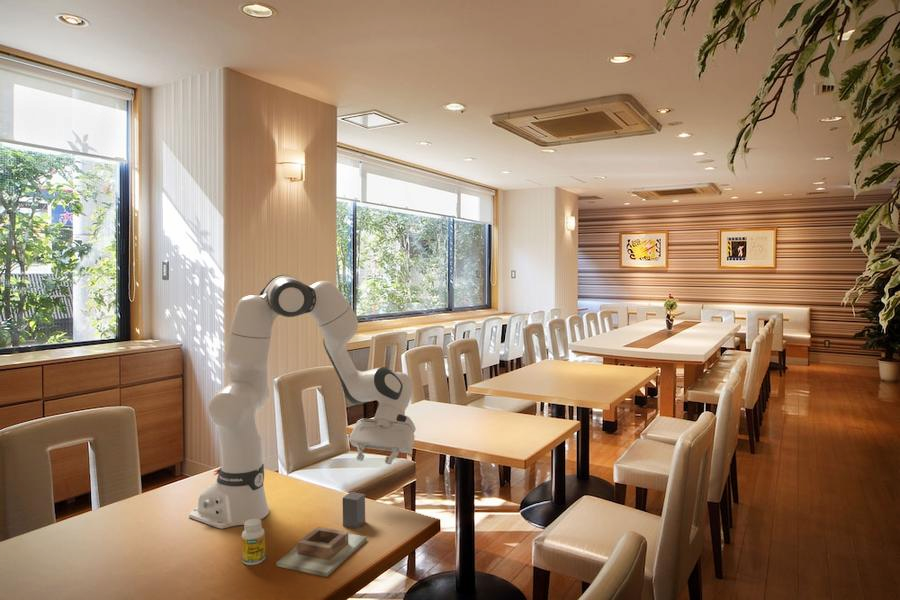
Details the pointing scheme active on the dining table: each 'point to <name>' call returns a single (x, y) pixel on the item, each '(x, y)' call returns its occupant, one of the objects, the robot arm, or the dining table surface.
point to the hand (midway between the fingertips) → (373, 461)
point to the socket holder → (321, 551)
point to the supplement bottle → (253, 542)
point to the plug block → (353, 510)
